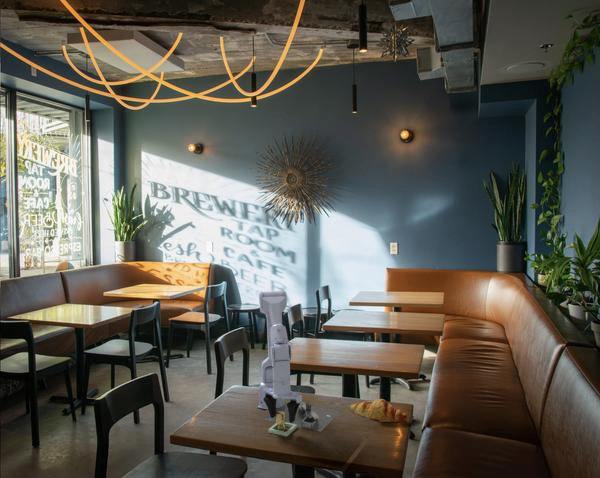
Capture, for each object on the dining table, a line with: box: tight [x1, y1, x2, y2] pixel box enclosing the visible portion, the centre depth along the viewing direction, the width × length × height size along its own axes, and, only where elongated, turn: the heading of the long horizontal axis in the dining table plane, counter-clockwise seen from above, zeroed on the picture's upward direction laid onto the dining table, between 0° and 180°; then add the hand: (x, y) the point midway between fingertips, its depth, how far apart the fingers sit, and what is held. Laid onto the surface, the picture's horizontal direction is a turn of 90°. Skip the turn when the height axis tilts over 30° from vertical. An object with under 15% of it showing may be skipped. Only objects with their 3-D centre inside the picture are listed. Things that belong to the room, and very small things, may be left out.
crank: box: [298, 401, 319, 419], centre depth 174 cm, size 14×3×5 cm, turn 23°
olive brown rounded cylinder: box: [275, 411, 286, 432], centre depth 165 cm, size 3×3×6 cm
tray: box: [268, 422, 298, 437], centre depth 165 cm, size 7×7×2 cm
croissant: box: [350, 398, 408, 423], centre depth 175 cm, size 21×10×8 cm
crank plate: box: [263, 400, 342, 433], centre depth 176 cm, size 22×18×3 cm
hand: (282, 419), depth 165 cm, fingers open, 7 cm apart
